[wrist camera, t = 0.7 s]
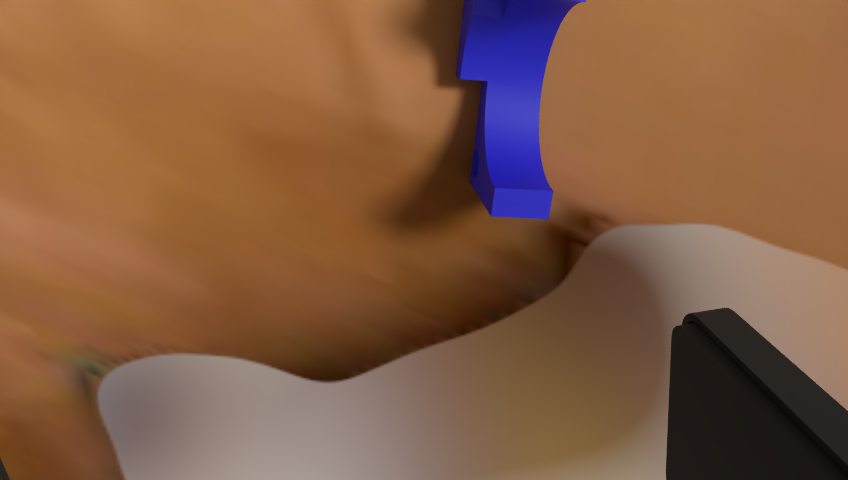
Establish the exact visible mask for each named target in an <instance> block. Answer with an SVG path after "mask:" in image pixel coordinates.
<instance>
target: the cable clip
mask: <svg viewBox="0 0 848 480" xmlns="http://www.w3.org/2000/svg"><path fill="white" fill-rule="evenodd" d="M580 2H586V0H464V7H463V16H462V26H461V35H460V44H459V53H458V62H457V72H456V76H457V77H458V78H460V79H465V80H478V81H482V89H481V97H480V105H479V113H478V121H477V129H476V137H475V145H474V154H473V162H472V170H471V178H470V183H471V184H472V186H473V187H474V189H475V191H476V192H477V194H478V196H479V197H480V199H481V201H482V202H483V204H484V206H485V207H486V209H487V210H488V212H489V214H490V215H491V216H495V217H516V218H537V219H548V218H549V213H550V207H551V201H552V195H553V190H552V189H551V188H550V186H549V184H548V182H547V180H546V177H545V174H544V171H543V167H542V162H541V155H540V146H539V109H540V98H541V90H542V83H543V78H544V72H545V68H546V63H547V60H548V56H549V52H550V49H551V46H552V43H553V40H554V37H555V35H556V32H557V30H558V28H559V26H560V24H561V22H562V20H563V19H564V17H565V16H566V14H567V13H568V11H569V10H570V9H571V8H572V7H573V6H574V5H576V4H578V3H580Z"/></svg>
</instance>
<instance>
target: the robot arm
mask: <svg viewBox="0 0 848 480" xmlns="http://www.w3.org/2000/svg"><path fill="white" fill-rule="evenodd" d="M666 460H667V461H666V480H848V411H847V410H846V409H845V408H843V407H842V406H841V405H840V404H839V403H838V402H837V401H836V400H834V399H833V398H832V397H831V396H830V395H829V394H828V393H826V392H825V391H824V390H823V389H822V388H821V387H820V386H818V385H817V384H816V383H815V382H814V381H813V380H812V379H810V378H809V377H808V376H807V375H806V374H805V373H804V372H803V371H801V370H800V369H799V368H798V367H797V366H796V365H795V364H793V363H792V362H791V361H790V360H789V359H788V358H787V357H785V356H784V355H783V354H782V353H781V352H780V351H779V350H777V349H776V348H775V347H774V346H773V345H772V344H771V343H770V342H768V341H767V340H766V339H765V338H764V337H763V336H762V335H760V334H759V333H758V332H757V331H756V330H755V329H754V328H752V327H751V326H750V325H749V324H748V323H747V322H746V321H745V320H743V319H742V318H741V317H740V316H739V315H738V314H736V313H735V312H734V311H733V310H731V309H729V308H722V309H715V310H709V311H703V312H697V313H690V314H687V315H686V316H685V317H684V319H683V322H682V325H680V326H676V327H675V328H674V329H673V332H672V340H671V365H670V388H669V411H668V437H667V459H666ZM0 480H10V479H9V477H8V474H7V472H6V470H5V468H4V465H3V463H2V461H1V459H0Z"/></svg>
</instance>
